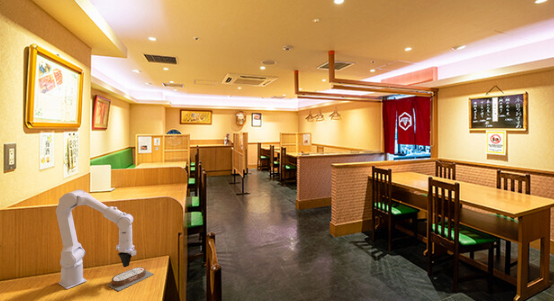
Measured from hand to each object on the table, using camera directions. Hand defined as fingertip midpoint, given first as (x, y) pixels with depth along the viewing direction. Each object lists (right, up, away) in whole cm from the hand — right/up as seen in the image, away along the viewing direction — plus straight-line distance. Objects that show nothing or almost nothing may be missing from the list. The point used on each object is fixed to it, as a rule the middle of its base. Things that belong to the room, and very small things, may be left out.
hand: (126, 266), depth 125 cm
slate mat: (+4, -6, -3) cm, 7 cm away
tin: (0, -3, 0) cm, 3 cm away
